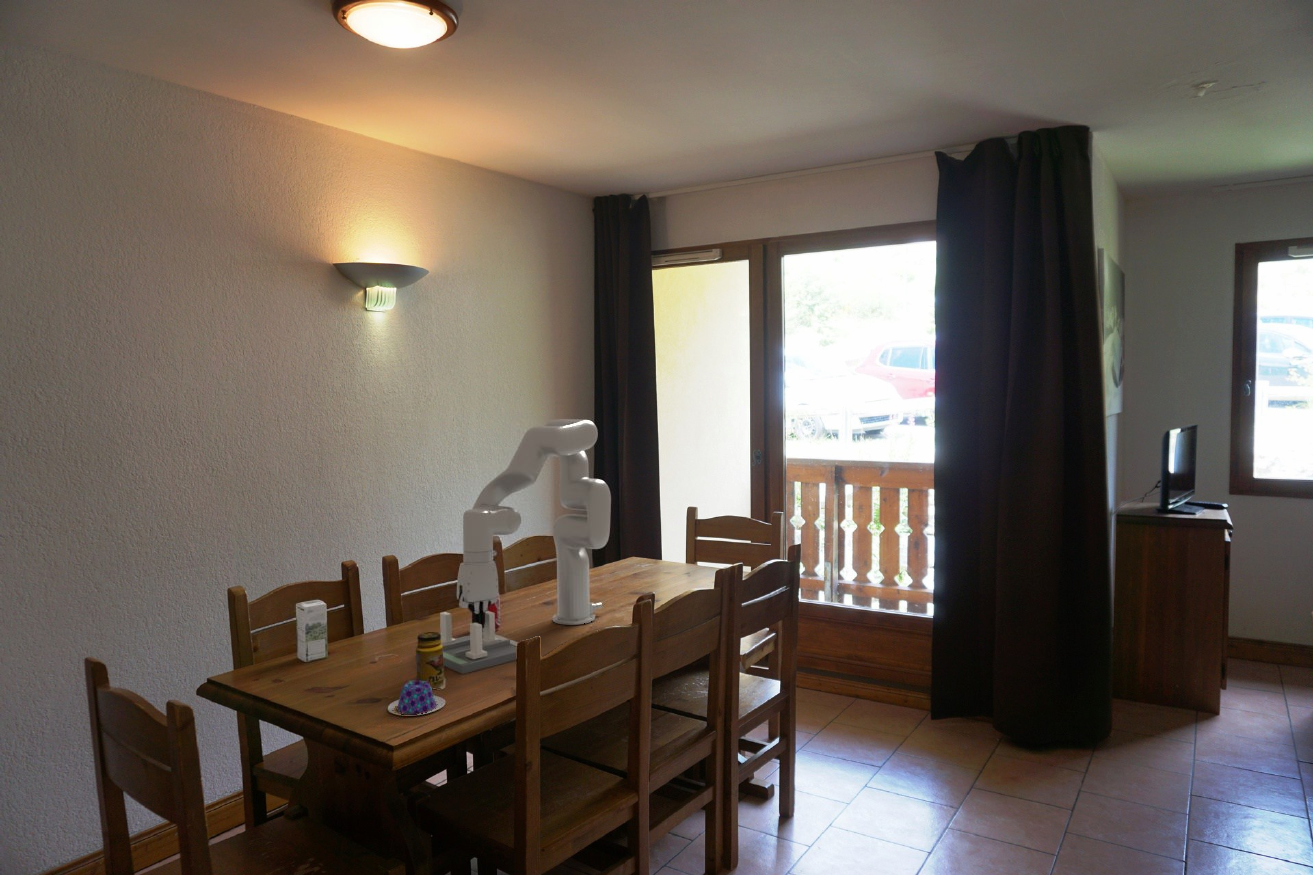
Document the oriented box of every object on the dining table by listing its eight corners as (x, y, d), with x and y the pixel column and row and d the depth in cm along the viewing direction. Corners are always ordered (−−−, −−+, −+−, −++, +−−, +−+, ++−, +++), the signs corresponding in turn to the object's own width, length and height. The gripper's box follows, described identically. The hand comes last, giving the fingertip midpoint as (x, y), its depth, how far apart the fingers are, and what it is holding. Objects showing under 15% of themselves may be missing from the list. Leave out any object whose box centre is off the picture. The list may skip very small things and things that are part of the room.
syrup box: (318, 653, 220) (317, 598, 220) (328, 658, 216) (326, 602, 215) (296, 658, 216) (295, 602, 216) (306, 663, 212) (304, 606, 211)
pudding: (408, 696, 188) (408, 673, 188) (456, 701, 185) (455, 677, 185) (376, 715, 177) (375, 691, 177) (425, 721, 173) (425, 696, 173)
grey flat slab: (485, 638, 232) (485, 627, 232) (531, 655, 216) (531, 643, 215) (419, 654, 218) (418, 642, 218) (462, 673, 202) (462, 660, 202)
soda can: (494, 634, 236) (493, 591, 235) (471, 632, 237) (470, 591, 237) (504, 627, 243) (503, 586, 242) (481, 626, 244) (480, 585, 244)
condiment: (445, 689, 192) (443, 637, 191) (406, 692, 190) (405, 640, 189) (445, 678, 199) (444, 628, 198) (408, 681, 197) (407, 631, 196)
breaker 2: (479, 652, 211) (479, 621, 211) (487, 655, 209) (486, 624, 208) (465, 656, 208) (464, 624, 208) (473, 659, 206) (472, 627, 205)
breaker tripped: (492, 639, 222) (491, 609, 222) (499, 642, 220) (499, 612, 219) (479, 642, 220) (478, 612, 219) (486, 645, 217) (485, 615, 217)
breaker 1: (449, 640, 222) (449, 610, 222) (456, 643, 220) (456, 613, 219) (436, 643, 219) (435, 613, 219) (442, 646, 217) (442, 616, 216)
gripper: (495, 552, 225) (495, 620, 225) (444, 558, 214) (445, 629, 215) (510, 555, 219) (511, 625, 220) (459, 562, 209) (460, 635, 209)
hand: (478, 627), depth 217 cm, fingers closed
